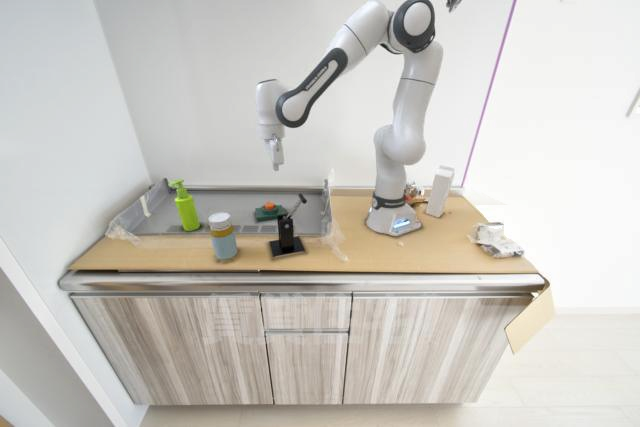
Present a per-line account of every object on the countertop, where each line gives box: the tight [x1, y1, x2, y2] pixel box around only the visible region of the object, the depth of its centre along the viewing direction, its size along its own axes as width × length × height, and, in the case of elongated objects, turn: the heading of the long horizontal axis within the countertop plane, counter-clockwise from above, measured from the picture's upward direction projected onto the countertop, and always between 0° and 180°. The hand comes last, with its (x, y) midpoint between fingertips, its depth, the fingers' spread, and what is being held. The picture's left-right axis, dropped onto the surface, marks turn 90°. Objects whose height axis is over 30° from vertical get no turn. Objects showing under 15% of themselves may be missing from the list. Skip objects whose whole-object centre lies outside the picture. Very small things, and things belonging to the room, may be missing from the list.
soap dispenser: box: [167, 179, 201, 232], centre depth 92 cm, size 6×7×20 cm
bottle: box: [208, 212, 239, 261], centre depth 78 cm, size 7×7×15 cm
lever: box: [281, 192, 308, 220], centre depth 79 cm, size 12×5×2 cm
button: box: [264, 202, 275, 210], centre depth 104 cm, size 4×4×2 cm
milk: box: [425, 165, 455, 218], centre depth 105 cm, size 6×6×22 cm
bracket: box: [268, 212, 306, 257], centre depth 83 cm, size 11×9×13 cm
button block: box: [254, 203, 286, 223], centre depth 106 cm, size 12×9×4 cm
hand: (276, 169), depth 91 cm, fingers closed
